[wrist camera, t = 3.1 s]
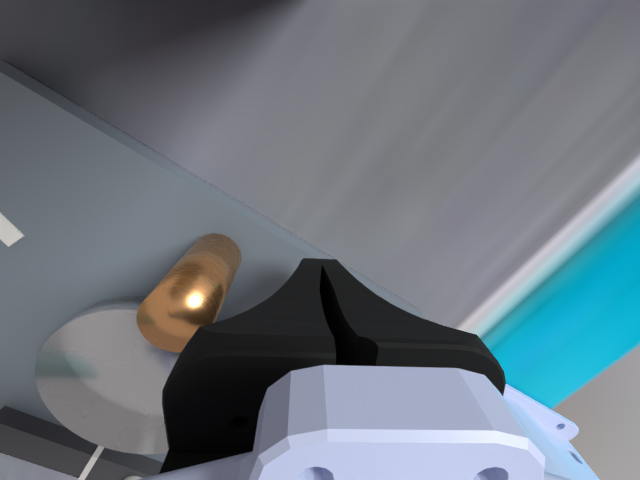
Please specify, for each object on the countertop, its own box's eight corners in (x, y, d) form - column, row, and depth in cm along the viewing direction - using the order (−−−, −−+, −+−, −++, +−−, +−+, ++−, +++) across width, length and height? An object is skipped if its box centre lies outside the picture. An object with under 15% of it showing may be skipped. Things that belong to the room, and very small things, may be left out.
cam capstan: (188, 451, 17) (150, 560, 13) (32, 392, 15) (-72, 498, 11) (312, 284, 14) (314, 359, 9) (131, 182, 12) (34, 218, 8)
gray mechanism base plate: (420, 311, 16) (444, 351, 13) (246, 504, 21) (237, 563, 18) (1, 59, 11) (-97, 41, 9) (-94, 385, 16) (-175, 440, 14)
